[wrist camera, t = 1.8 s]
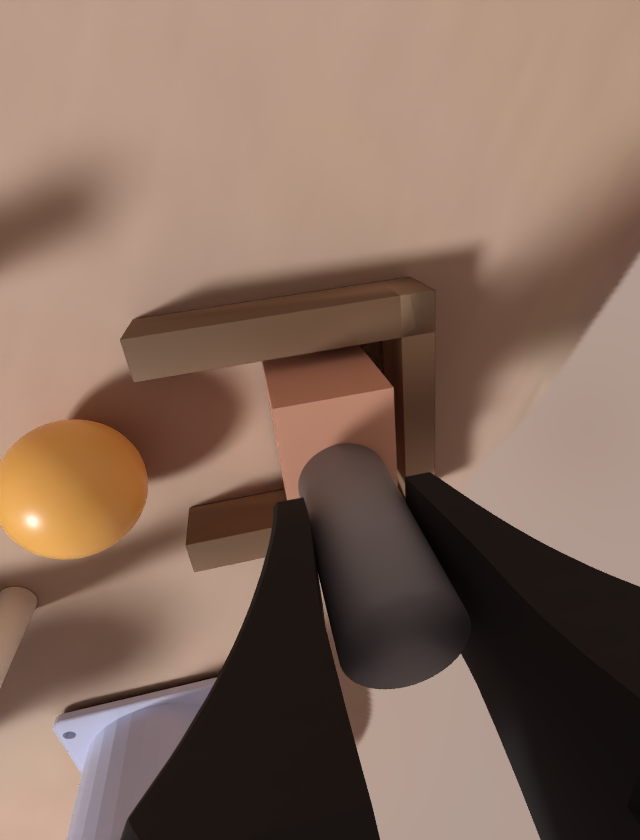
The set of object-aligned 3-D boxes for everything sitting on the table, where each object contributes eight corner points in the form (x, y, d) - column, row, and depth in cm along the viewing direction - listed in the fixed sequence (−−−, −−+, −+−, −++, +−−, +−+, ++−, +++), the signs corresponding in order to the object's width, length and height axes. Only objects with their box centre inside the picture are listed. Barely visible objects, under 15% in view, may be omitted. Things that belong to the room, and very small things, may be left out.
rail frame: (414, 489, 19) (434, 521, 17) (196, 533, 18) (194, 572, 16) (410, 277, 15) (434, 290, 13) (133, 319, 14) (119, 339, 12)
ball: (169, 490, 17) (155, 573, 13) (51, 513, 16) (4, 604, 13) (136, 387, 15) (109, 451, 11) (2, 409, 15) (-69, 484, 11)
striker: (364, 469, 18) (480, 708, 10) (283, 484, 17) (335, 745, 9) (354, 338, 15) (495, 514, 7) (260, 354, 15) (303, 554, 7)
